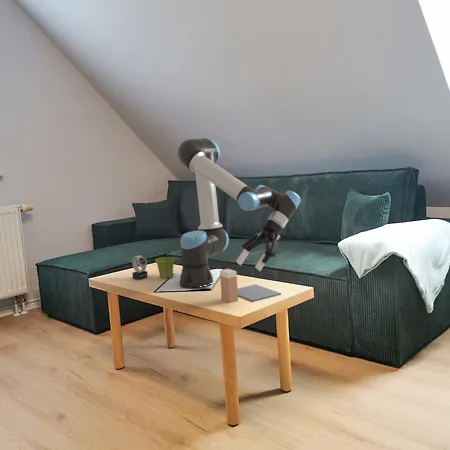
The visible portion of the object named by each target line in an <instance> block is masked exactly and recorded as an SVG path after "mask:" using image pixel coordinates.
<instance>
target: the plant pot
mask: <svg viewBox="0 0 450 450" xmlns="http://www.w3.org/2000/svg"><path fill="white" fill-rule="evenodd" d="M175 260H176V258H175V257H170V256H169V257H160V258H156V259H155V260H154V261H155V263H156V265H157V270H158V274H159V277H160V278H161V279H165V278H166V279H170V278H173V276H174V263H175Z"/></svg>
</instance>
